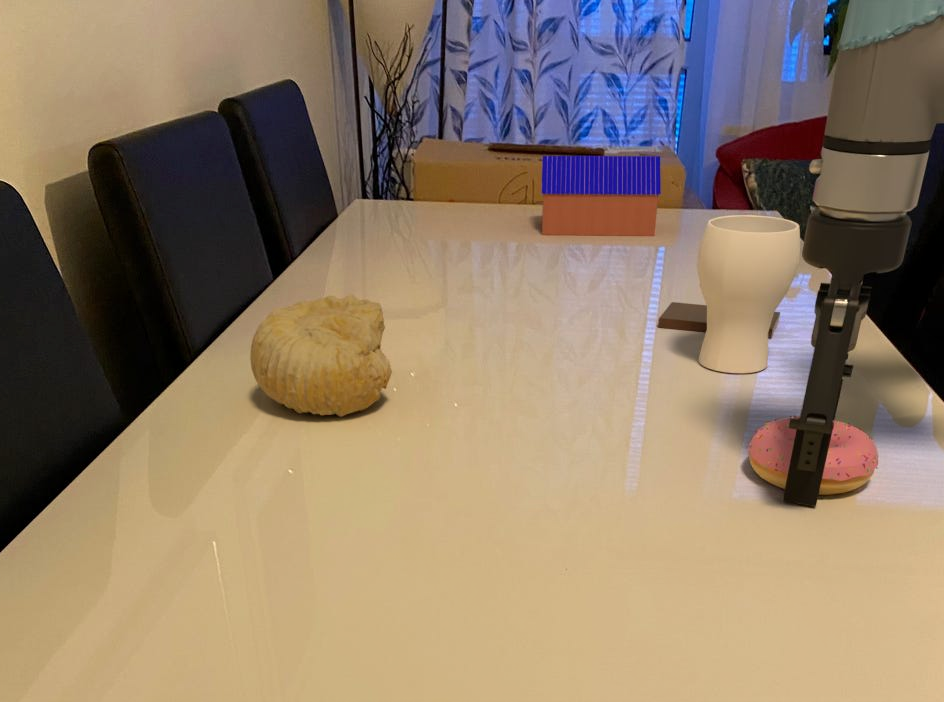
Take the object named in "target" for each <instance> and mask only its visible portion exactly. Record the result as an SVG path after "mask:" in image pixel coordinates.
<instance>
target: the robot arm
mask: <svg viewBox="0 0 944 702" xmlns="http://www.w3.org/2000/svg"><path fill="white" fill-rule="evenodd" d="M836 49H837V50H838V51H837V58H836V62H835V63H836V64H835V70H834V75H833V81H832V87H831V93H830V98H829V99H830V100H829V104H828V110H827V117H826V122H825V127H824V134H823V138H822V139H823V141H822V147H821V151H820V156H821V158H818V159H817V158H815V159H812V160H811V161H810V163H809V165H808V170H809V172H810V173H812V174H820V175H819V176H818V177H816V180H815V182H814V187H813V193H812V201H813V203H815V205H816V206H818V208H815V209H814V210H812V212H811V213H809V215H808V219H807V224H806V229H805V235H804V240H803V246H802V251H801V257H802V259H803V261H804V262H805V263H806V264H807V265H809V266H811V267H814V268H817V269H825V270H828V271H830V272H831V273H832V274H831V277H830V282H820V283H819V284H820V285H819V288H818V290H817V293H816V298H815V303H814V311H813V312H814V315H815V318H814V322H813V327H812V331H811V336H810V345H811V347H813V348H814V349H813V353H812V359H811V364H810V368H809V372H808V377H807V383H806V387H805V392H804V396H803V400H802V401H803V402H802V407H801V410H800V415H799V416H798V417H799V419H791V418H792V417H791V418H790V422H789V428H790V429H797V430H796V435H795V440H794V445H793V450H792V455H791V460H790V465H789V470H788V475H787V481H786V486H785V489H784V490H783V491H784V492H783V497H782V502H785V503H786V502H787V503H792V504H799V505H805V506H811V507H817V503H818V499H819V496H820V495H819V490H820V485H821V481H822V476H823V472H824V467H825V463H826V458H827V453H828V449H829V444H830V440H831V435H832V430H833V427H834V423H833V420H835V421H836V415H837V411H838V407H839V401H840V396H841V392H842V389H843V388H842V387H843V383H844V379H843V378H849V379H851V378H852V374H853V370H854V364H846V363H847V360H848V358H849V353H850V352H852V351H854V350H855V349H856V347H857V343H858V338H859V333H860V329H861V324H862V321H863V320H864V319H865V318H866V316H867V311H868V307H869V303H870V298H871V293H872V286H863V282H864V277H865V275H867V274H870V273H874V274H884V273H889V272H891V271H894V270H896V269H898V268H899V267H901V265H902V263H903V261H904V257H905V254H906V250H907V244H908V242H909V236H910V232H911V228H912V224H913V221H912V220H911V217H910V215H908V214H907V213H908V212H911V211H912V210H914V208H916V207H917V206H918V202H919V198H920V194H921V189H922V185H923V181H924V177H925V172H926V168H927V163H928V159H929V154H930V148H931V144H932V139H933V138H932V137H933V134H934V131H935V129H936V125H937V124H944V0H849V2H848V4H847V10H846V14H845V18H844V23H843V27H842V31H841V35H840V39H839V41H838V42H837V48H836Z"/></svg>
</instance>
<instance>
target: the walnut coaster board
mask: <svg viewBox="0 0 944 702" xmlns="http://www.w3.org/2000/svg"><path fill="white" fill-rule="evenodd" d="M780 318H781V312H780V311H774V315H773V318H772V321H771V325H770V328H769V331H768V340H771V339H773V336H774V334H775V331H776V329H777V326H778V325H779V323H780ZM657 327H658V328H662V329H670V330H671V329H672V330H679V331H690V332H700V333H706V331H707V305H706V304H698V303H696V304H695V303H688V302H687V303H686V302H678V301H677V302H675V301H671V302H670V304H669V305H668V306H667V308H666V309H665V310H664V311H663V313H662V314H661V315H660V316H659V318H658V325H657Z"/></svg>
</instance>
